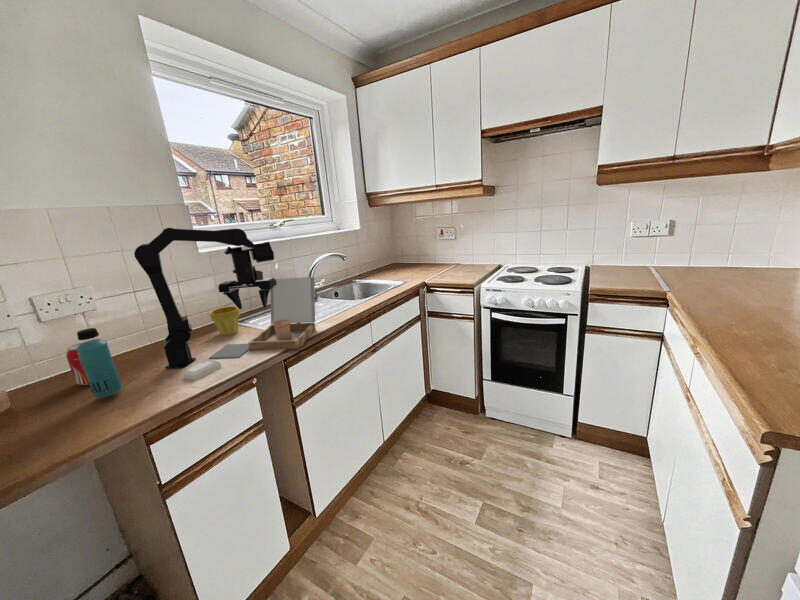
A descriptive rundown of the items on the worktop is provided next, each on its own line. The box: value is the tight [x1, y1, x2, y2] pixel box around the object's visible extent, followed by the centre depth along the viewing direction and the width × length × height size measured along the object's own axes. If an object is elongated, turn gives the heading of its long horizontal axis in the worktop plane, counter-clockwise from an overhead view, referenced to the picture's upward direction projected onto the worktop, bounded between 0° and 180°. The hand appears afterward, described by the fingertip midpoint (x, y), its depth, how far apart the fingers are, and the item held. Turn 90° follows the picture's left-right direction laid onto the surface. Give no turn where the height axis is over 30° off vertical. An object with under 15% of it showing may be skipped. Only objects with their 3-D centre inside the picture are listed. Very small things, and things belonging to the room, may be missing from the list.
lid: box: [269, 276, 316, 325], centre depth 135 cm, size 18×18×1 cm
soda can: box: [65, 342, 89, 386], centre depth 103 cm, size 7×7×12 cm
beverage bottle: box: [76, 327, 123, 398], centre depth 91 cm, size 6×7×20 cm
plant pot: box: [209, 305, 241, 336], centre depth 137 cm, size 10×10×10 cm
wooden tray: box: [247, 322, 317, 352], centre depth 126 cm, size 18×18×3 cm
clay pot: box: [273, 319, 293, 341], centre depth 125 cm, size 6×6×7 cm
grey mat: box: [208, 343, 249, 360], centre depth 119 cm, size 11×11×1 cm
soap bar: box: [182, 359, 222, 381], centre depth 104 cm, size 5×9×3 cm, turn 154°
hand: (252, 308), depth 121 cm, fingers open, 9 cm apart
